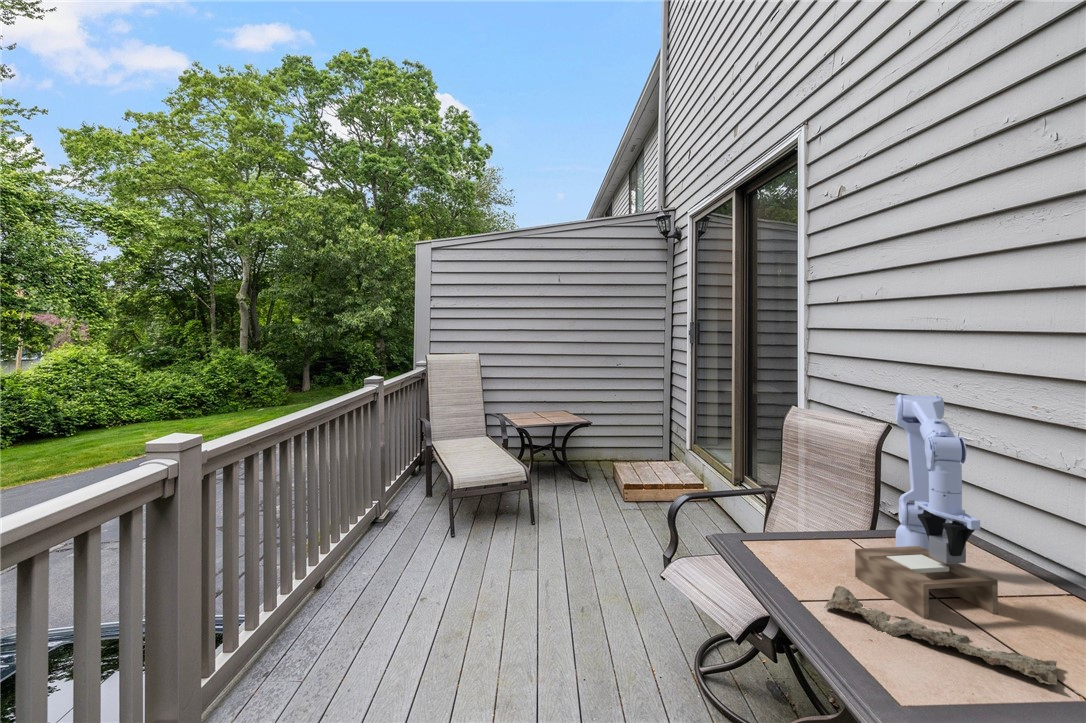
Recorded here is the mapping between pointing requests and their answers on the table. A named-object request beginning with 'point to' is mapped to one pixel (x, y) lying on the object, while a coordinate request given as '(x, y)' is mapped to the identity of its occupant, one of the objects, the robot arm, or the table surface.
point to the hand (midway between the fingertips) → (945, 550)
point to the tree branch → (944, 638)
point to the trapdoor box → (922, 580)
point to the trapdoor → (920, 563)
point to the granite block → (944, 550)
